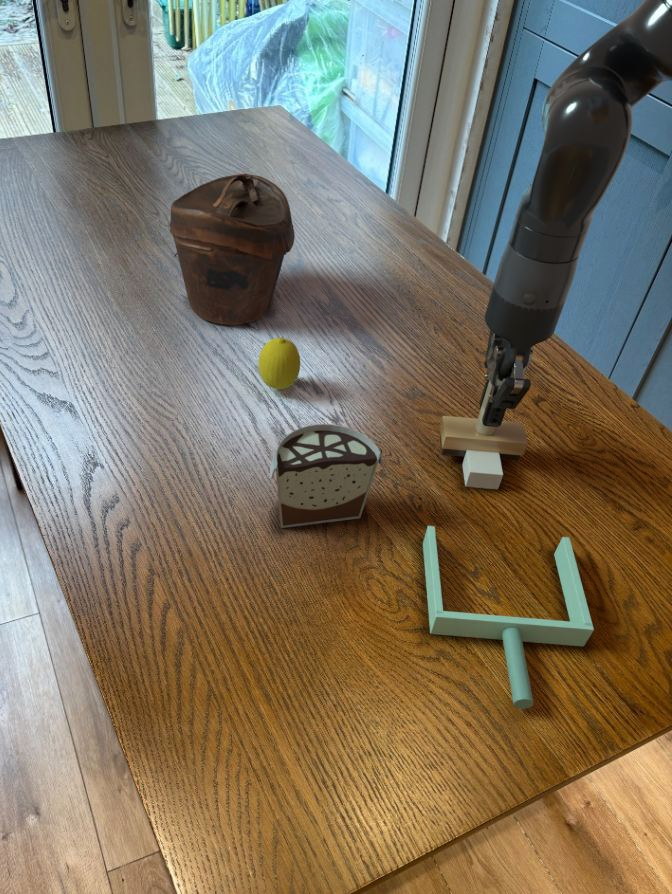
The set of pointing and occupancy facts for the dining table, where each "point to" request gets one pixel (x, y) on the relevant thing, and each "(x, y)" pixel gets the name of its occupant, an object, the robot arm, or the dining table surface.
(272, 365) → the lemon
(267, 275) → the case
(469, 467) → the white square block
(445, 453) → the brush
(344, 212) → the dining table surface
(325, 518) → the cupcake
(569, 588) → the goalpost shaped holder
